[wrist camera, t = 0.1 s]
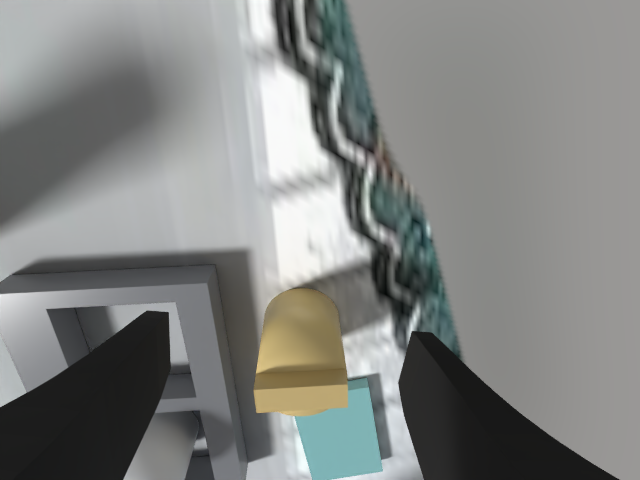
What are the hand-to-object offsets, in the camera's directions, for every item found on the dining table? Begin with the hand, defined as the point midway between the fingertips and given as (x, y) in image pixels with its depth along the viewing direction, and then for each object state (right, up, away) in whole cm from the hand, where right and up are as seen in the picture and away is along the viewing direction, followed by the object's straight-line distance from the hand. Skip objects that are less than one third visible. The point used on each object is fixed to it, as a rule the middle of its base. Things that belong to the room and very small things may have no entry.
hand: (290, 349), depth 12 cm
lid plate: (+2, -10, +15) cm, 18 cm away
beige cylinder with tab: (0, -1, +12) cm, 12 cm away
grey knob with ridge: (-9, -9, +15) cm, 19 cm away
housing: (-10, -6, +13) cm, 17 cm away
